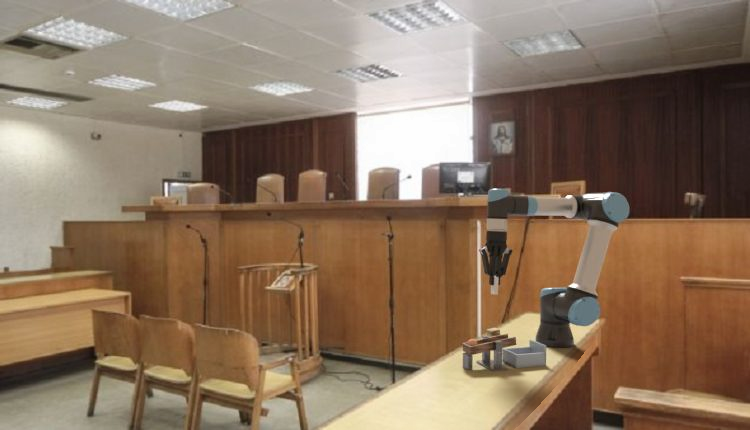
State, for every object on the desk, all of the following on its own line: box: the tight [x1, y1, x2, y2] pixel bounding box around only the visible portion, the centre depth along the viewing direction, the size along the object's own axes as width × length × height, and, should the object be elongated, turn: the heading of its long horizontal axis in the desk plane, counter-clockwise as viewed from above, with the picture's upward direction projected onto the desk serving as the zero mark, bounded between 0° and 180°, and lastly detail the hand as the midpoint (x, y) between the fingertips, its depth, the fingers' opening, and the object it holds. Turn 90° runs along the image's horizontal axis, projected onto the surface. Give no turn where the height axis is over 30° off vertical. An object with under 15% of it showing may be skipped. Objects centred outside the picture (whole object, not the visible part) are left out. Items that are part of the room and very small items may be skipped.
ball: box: [467, 338, 477, 346], centre depth 185 cm, size 3×3×3 cm
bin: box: [502, 339, 547, 369], centre depth 192 cm, size 12×9×7 cm
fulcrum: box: [462, 335, 509, 372], centre depth 186 cm, size 13×11×10 cm
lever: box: [461, 327, 517, 356], centre depth 191 cm, size 18×14×3 cm
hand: (494, 294), depth 199 cm, fingers closed
